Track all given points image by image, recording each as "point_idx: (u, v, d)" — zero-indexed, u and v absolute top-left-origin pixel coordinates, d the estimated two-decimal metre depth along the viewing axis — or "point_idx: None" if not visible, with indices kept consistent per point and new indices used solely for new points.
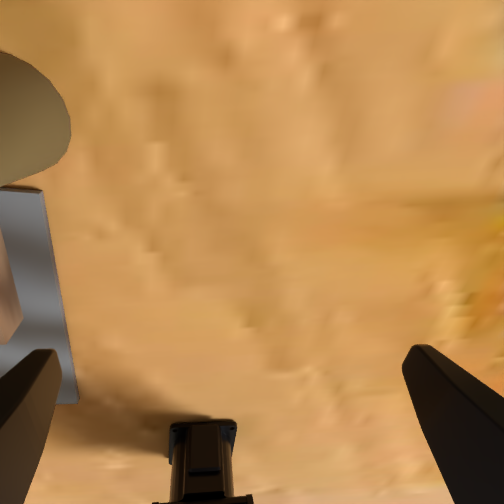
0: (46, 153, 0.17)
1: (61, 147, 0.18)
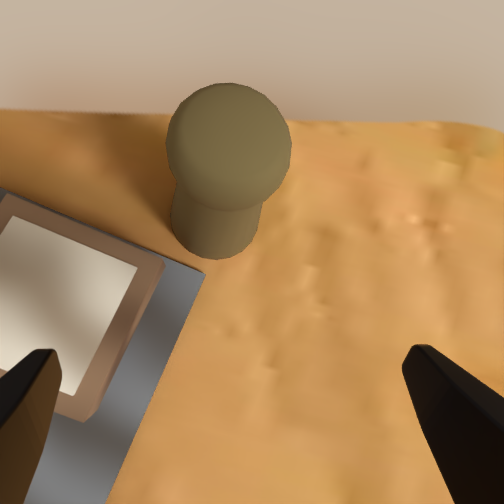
0: (248, 235, 0.21)
1: (246, 243, 0.22)
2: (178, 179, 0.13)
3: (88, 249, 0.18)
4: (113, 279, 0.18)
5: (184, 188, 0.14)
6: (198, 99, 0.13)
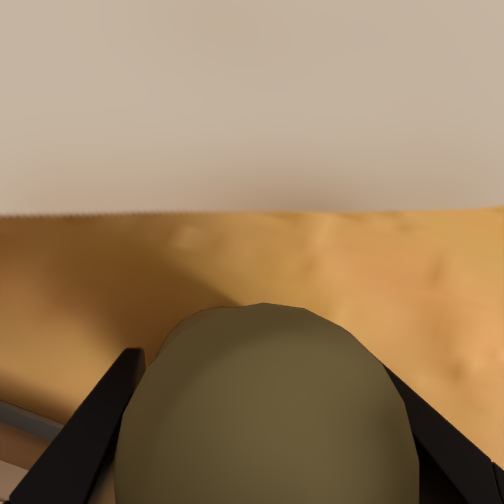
0: None
1: None
2: None
3: None
4: None
5: None
6: (192, 403, 0.05)
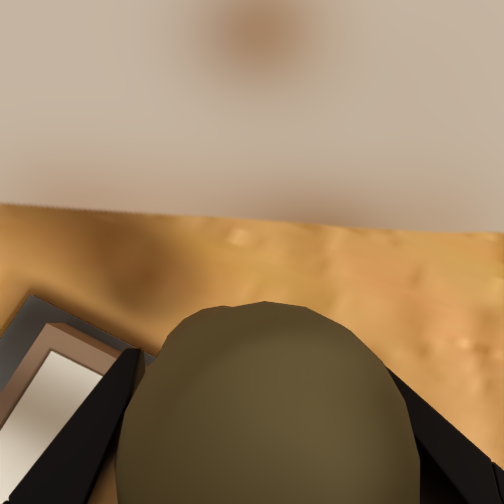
0: None
1: None
2: None
3: None
4: None
5: None
6: (194, 400, 0.05)
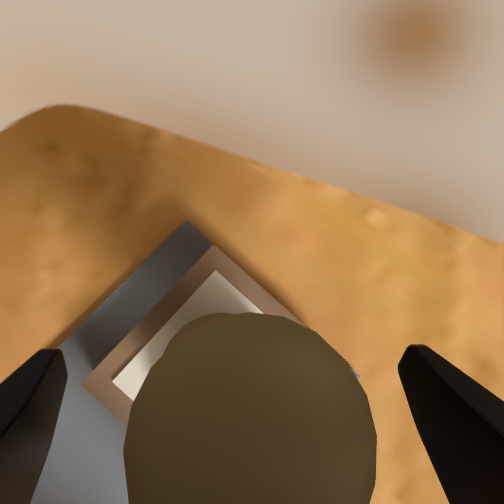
0: None
1: None
2: None
3: None
4: None
5: None
6: (187, 394, 0.06)
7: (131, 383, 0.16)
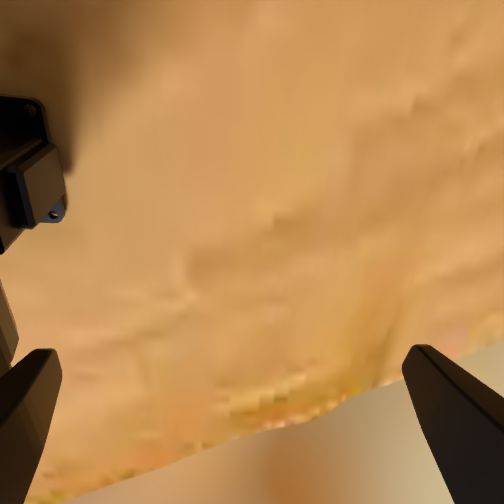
0: None
1: None
2: None
3: None
4: None
5: None
6: None
7: None
